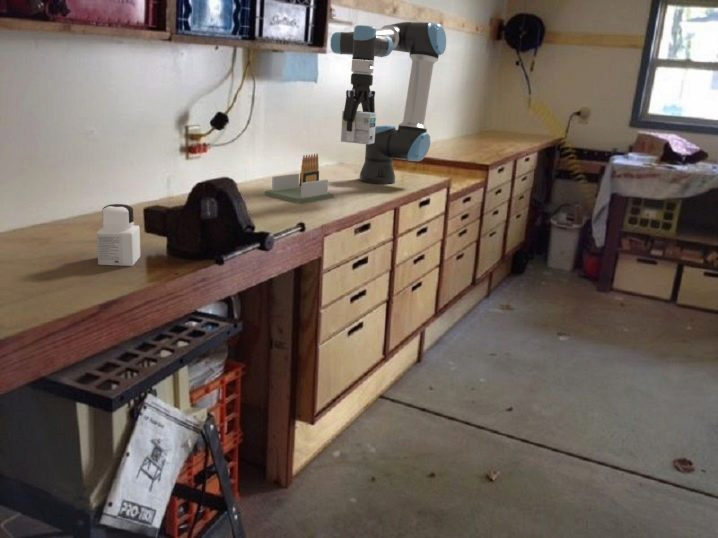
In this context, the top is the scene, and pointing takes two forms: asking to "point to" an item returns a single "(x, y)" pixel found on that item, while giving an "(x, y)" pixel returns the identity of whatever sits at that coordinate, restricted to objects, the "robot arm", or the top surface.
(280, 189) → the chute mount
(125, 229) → the container
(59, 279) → the top surface
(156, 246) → the top surface
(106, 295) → the top surface
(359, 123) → the light bulb box
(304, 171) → the ammunition clip
